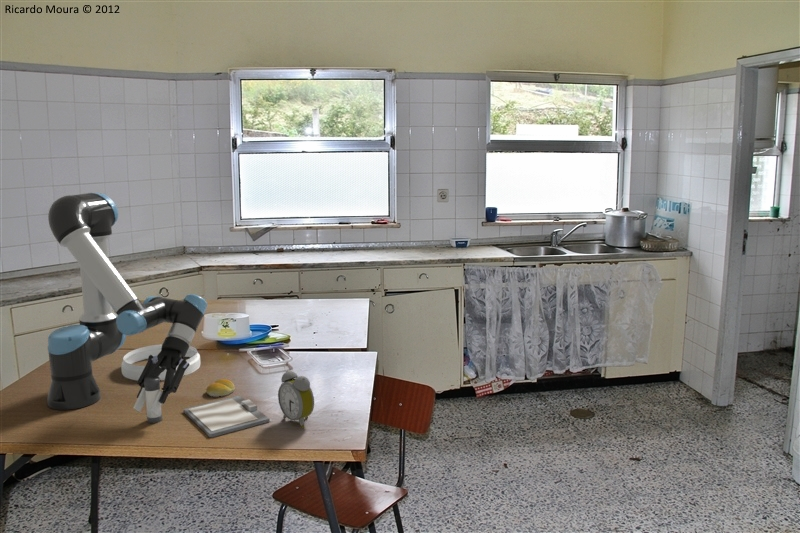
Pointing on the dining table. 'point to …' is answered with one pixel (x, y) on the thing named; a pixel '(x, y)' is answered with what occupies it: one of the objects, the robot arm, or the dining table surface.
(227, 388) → the bread roll
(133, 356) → the white hollow ring
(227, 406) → the clipboard
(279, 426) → the dining table surface
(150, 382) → the white grey cylinder
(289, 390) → the alarm clock
